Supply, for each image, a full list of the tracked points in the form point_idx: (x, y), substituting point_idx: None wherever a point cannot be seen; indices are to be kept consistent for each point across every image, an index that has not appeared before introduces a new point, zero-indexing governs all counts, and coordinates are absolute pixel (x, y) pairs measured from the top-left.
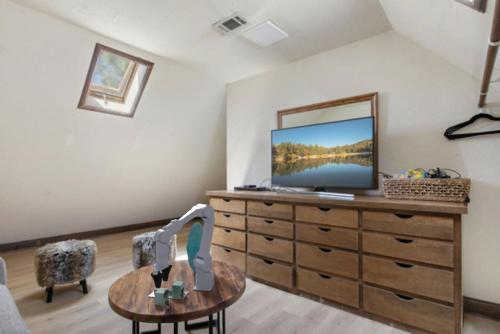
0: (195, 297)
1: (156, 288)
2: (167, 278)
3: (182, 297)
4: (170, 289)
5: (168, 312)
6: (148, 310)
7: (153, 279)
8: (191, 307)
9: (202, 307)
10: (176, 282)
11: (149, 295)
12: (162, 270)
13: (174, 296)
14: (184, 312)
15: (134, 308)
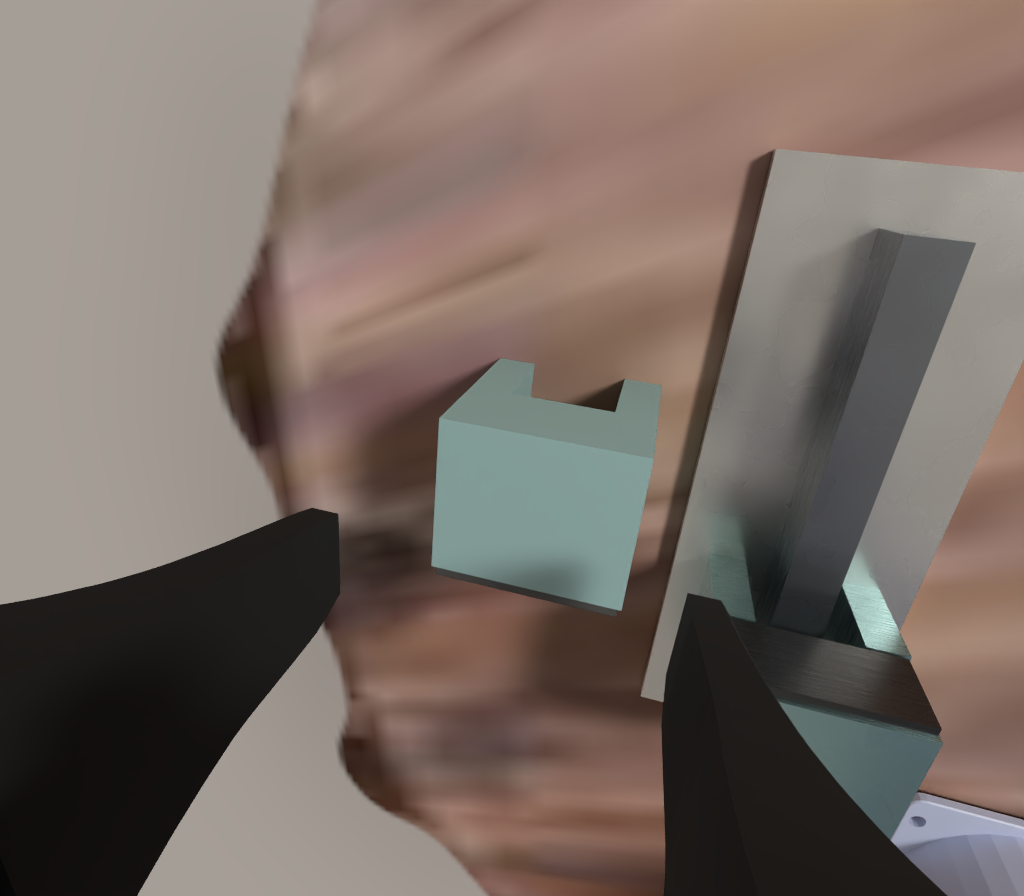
0: None
1: (962, 274)
2: (665, 737)
3: (661, 682)
4: (838, 559)
5: (342, 558)
6: (354, 320)
7: (85, 595)
8: (456, 750)
9: (461, 828)
10: (847, 745)
11: (803, 164)
12: (719, 840)
13: (700, 590)
14: (362, 695)
15: (381, 71)
